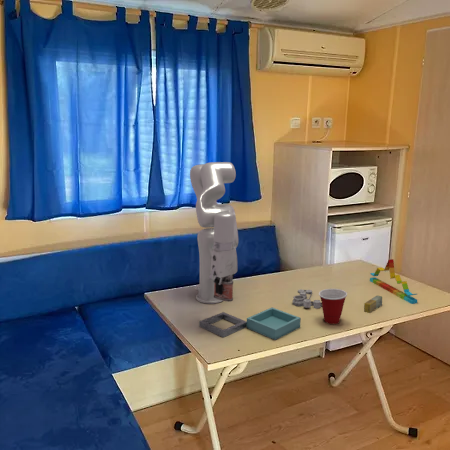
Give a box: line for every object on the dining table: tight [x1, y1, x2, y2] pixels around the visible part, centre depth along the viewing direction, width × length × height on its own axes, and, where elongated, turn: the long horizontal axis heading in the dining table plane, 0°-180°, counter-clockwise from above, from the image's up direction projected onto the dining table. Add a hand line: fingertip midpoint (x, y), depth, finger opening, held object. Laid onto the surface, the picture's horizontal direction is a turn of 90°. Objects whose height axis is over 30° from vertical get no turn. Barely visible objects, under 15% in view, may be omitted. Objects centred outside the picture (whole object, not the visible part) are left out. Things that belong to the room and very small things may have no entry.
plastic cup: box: [318, 288, 348, 325], centre depth 187 cm, size 11×11×12 cm
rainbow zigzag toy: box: [369, 259, 418, 305], centre depth 219 cm, size 30×3×15 cm, turn 18°
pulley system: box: [292, 288, 322, 309], centre depth 207 cm, size 27×5×15 cm
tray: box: [246, 307, 301, 341], centre depth 182 cm, size 14×15×4 cm
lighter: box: [214, 275, 234, 303], centre depth 179 cm, size 8×3×10 cm, turn 57°
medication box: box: [363, 295, 383, 314], centre depth 201 cm, size 12×3×4 cm, turn 138°
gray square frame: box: [198, 311, 247, 338], centre depth 182 cm, size 13×13×2 cm
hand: (223, 291), depth 180 cm, fingers closed on lighter, 3 cm apart
